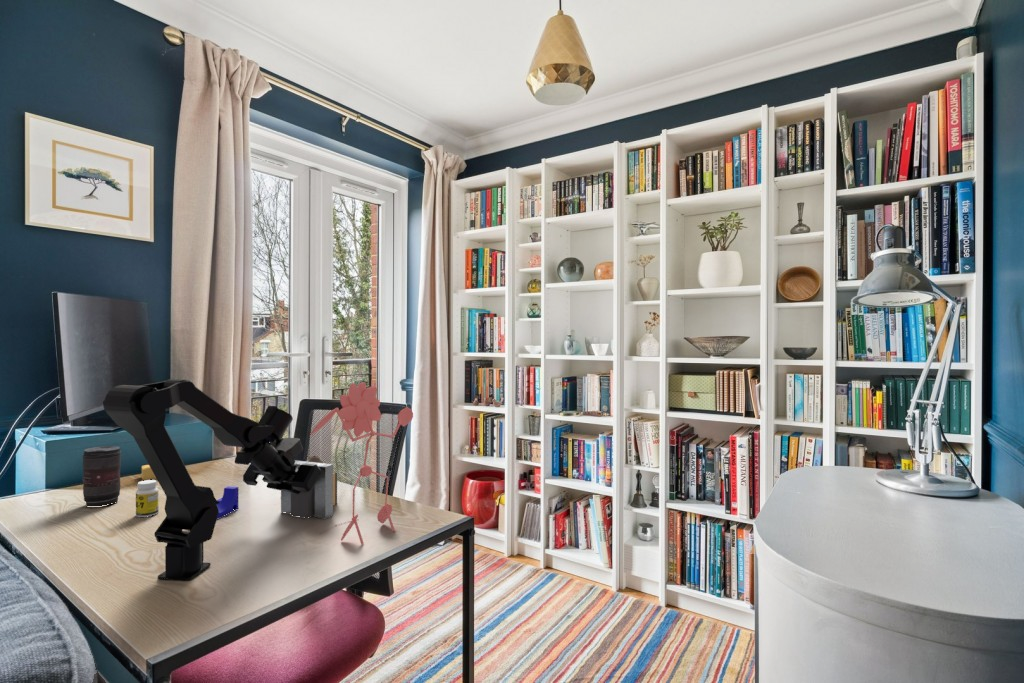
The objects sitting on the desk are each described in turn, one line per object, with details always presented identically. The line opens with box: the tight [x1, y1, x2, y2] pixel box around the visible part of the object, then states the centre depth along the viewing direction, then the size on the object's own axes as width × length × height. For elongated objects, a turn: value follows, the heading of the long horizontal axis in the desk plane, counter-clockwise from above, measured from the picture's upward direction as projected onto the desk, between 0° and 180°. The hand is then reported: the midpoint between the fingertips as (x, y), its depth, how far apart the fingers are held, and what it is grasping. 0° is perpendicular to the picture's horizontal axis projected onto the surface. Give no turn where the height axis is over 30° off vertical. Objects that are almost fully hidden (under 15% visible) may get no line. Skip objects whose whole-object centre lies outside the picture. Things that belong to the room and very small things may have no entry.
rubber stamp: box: [141, 464, 157, 481], centre depth 167 cm, size 10×6×12 cm, turn 128°
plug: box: [290, 471, 338, 519], centre depth 137 cm, size 12×5×9 cm, turn 163°
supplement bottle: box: [135, 479, 160, 518], centre depth 132 cm, size 5×5×8 cm
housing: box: [280, 459, 334, 519], centre depth 133 cm, size 3×14×13 cm, turn 72°
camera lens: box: [81, 445, 122, 507], centre depth 140 cm, size 8×8×15 cm
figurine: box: [310, 381, 415, 545], centre depth 122 cm, size 15×26×35 cm, turn 145°
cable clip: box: [216, 486, 239, 519], centre depth 131 cm, size 12×4×6 cm, turn 171°
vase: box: [307, 455, 324, 463], centre depth 159 cm, size 7×7×9 cm
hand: (298, 492), depth 130 cm, fingers closed
